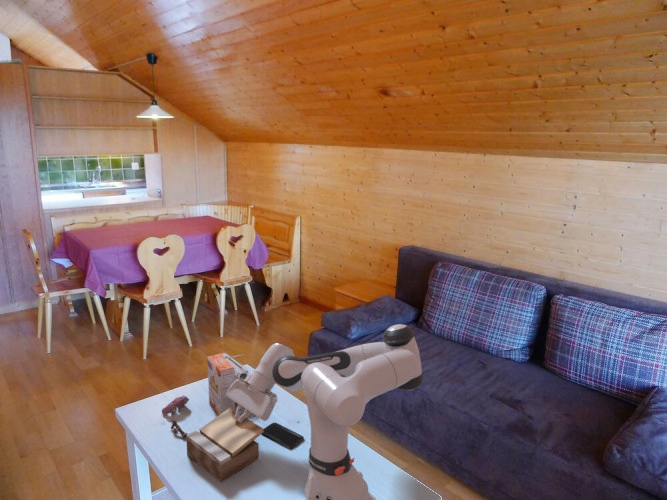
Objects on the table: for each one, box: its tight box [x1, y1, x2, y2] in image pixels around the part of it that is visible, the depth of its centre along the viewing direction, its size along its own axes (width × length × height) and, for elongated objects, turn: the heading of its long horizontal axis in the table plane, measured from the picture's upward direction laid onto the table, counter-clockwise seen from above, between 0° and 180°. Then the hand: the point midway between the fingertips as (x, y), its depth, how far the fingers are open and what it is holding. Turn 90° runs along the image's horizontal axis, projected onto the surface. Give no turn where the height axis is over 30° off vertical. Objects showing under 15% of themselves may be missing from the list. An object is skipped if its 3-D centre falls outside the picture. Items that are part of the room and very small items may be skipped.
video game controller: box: [161, 394, 190, 416], centre depth 187 cm, size 10×5×7 cm, turn 149°
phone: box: [261, 422, 305, 450], centre depth 174 cm, size 8×1×15 cm
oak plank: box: [199, 408, 264, 457], centre depth 163 cm, size 18×13×2 cm
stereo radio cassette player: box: [221, 352, 249, 404], centre depth 200 cm, size 21×8×20 cm, turn 40°
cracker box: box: [206, 352, 236, 416], centre depth 186 cm, size 14×6×21 cm, turn 33°
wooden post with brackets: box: [170, 419, 189, 439], centre depth 174 cm, size 2×8×4 cm, turn 53°
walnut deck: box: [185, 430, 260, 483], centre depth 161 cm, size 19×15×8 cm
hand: (237, 420), depth 165 cm, fingers closed, pressing on oak plank
